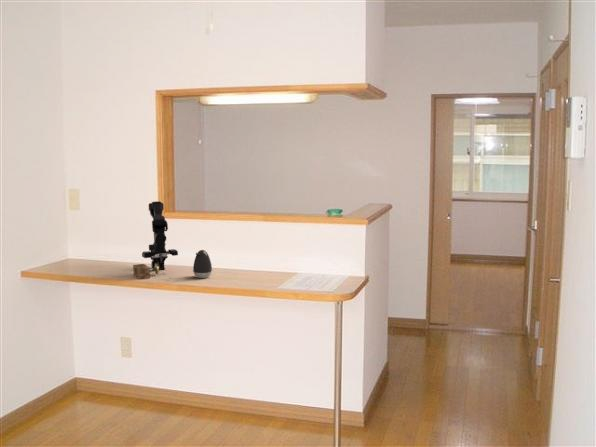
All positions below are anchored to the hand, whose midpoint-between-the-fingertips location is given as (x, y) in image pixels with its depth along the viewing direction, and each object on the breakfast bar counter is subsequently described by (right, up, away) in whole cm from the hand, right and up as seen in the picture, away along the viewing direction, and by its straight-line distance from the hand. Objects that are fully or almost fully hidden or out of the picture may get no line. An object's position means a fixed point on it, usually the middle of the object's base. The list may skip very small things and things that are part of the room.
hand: (160, 268), depth 340 cm
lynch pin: (-6, -3, -3) cm, 7 cm away
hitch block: (-9, -4, -5) cm, 11 cm away
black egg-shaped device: (+24, -5, -6) cm, 25 cm away
